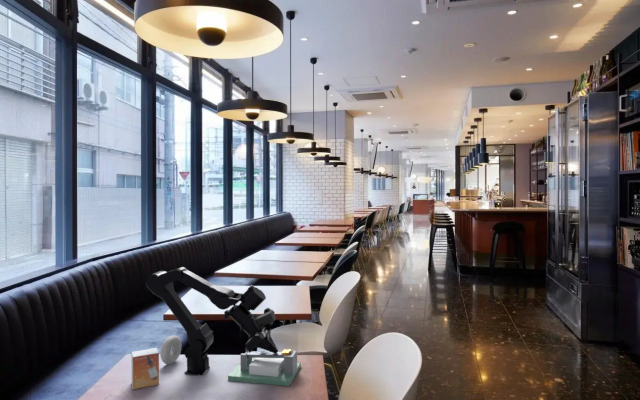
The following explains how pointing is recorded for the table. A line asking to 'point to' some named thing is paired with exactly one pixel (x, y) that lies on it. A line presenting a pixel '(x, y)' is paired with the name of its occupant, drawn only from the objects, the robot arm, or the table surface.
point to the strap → (268, 354)
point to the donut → (166, 347)
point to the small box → (145, 368)
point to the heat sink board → (261, 378)
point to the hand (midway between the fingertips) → (277, 352)
